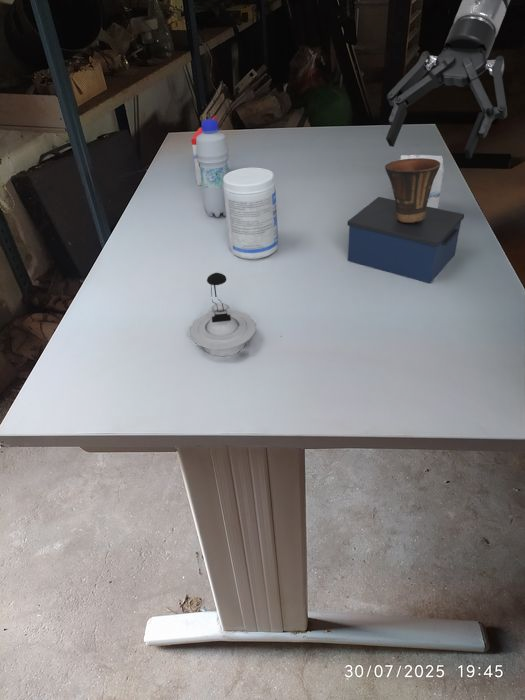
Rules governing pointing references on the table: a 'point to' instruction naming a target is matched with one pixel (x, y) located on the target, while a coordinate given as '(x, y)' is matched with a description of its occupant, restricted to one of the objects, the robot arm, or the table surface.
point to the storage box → (403, 240)
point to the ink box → (437, 182)
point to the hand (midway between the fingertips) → (427, 148)
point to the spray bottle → (197, 165)
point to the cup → (412, 186)
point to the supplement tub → (251, 212)
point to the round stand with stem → (222, 326)
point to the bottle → (212, 166)
